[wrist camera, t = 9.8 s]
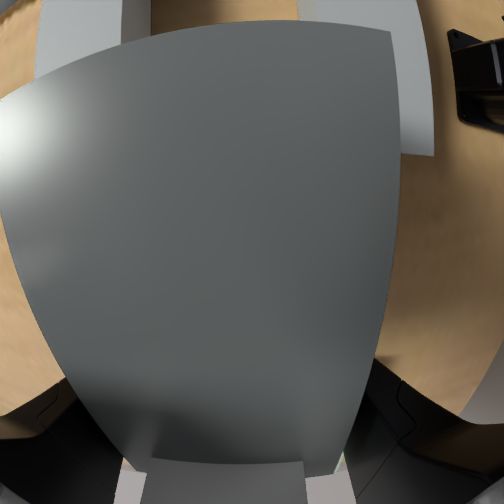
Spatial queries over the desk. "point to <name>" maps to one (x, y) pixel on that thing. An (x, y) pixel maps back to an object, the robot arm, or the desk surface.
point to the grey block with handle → (212, 244)
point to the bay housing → (310, 9)
